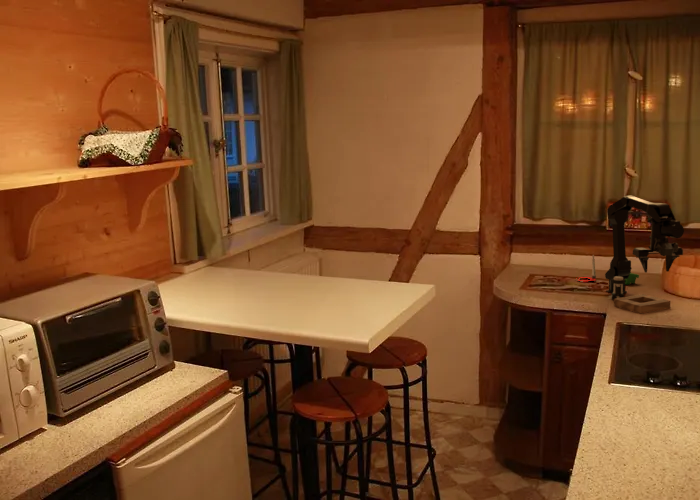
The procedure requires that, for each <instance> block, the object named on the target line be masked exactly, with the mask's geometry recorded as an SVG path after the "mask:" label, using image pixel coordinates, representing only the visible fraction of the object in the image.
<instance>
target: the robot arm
mask: <svg viewBox="0 0 700 500" xmlns="http://www.w3.org/2000/svg"><path fill="white" fill-rule="evenodd" d="M633 208H634V209H636V210H639V211H642V212H645V213H646V215H647V216H649V217H650V219H648V220H647V222H648V223H651V229H650V231H651V232H650V235H649V237H648V239H649V240H650V245H648V249H647V248H645V247H634V248H633V249H632V255H633V256H635V258H636V257H637V258H638V260H639V261H640V264H641V265H642V269H643V271H644V273H647V272H648V261H649V259H650V257H649V255H658V254H659V255H660V256H662V257H665V270H666V271H665V272H669V271H670V269H671V267H672V265H673V263H674V261H675V260H676V259H677V258H679V257H681V256H683V255H684V250H683V248H682V247H680V246H679V243H677V242H672V243H671V242H669V238H673V239H679V238H682V236H683V235H684V233H685V229H684V226H683V225H682V224H681V221H680V220H677V219H676V216H675V215H674V213H673V211H672V209H671V206H670V205H669V204H668V203H665V202H663V203H662V202H652V201H648V200H645V199H642V198H639V197H636V196H634V195H624V196H623V197H621V198H620V199H619V200H617V201H615V202H613V203H612V204H610V205H609V206H608V207H607V208H606V209H607V210H606V211H607V212H606V213H607V217H608V219H607V220H608V221H609V222H610V224H611V225H612V226H611V227H612V246H613V247H612V248H613V249H612V252H613V256H612V257H613V258H612V259H611V260H610V262H609V263H610V264H609V269H608V270H607V271H606V272H605V273H604V277H605V279H606V280H608V289H606V291H605V292H607V293H611V294H612V293H613V292H614V283H612V279H613V278H614V277H615V276H621V277H623V279H628V278H629V274H630V272H631V273H632V271H631V270H632V261H631V260H629V259H628V257H627V256H626V253H627V251H626V233H625V231H626V229H625V224H626V222H627V220H628V217H629V212H631V211H632V210H633ZM620 286H621V285H620ZM615 289H616V284H615ZM627 293H628V291H627V290H626V284H625V281H624V284H623V293H622V294H627Z"/></svg>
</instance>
